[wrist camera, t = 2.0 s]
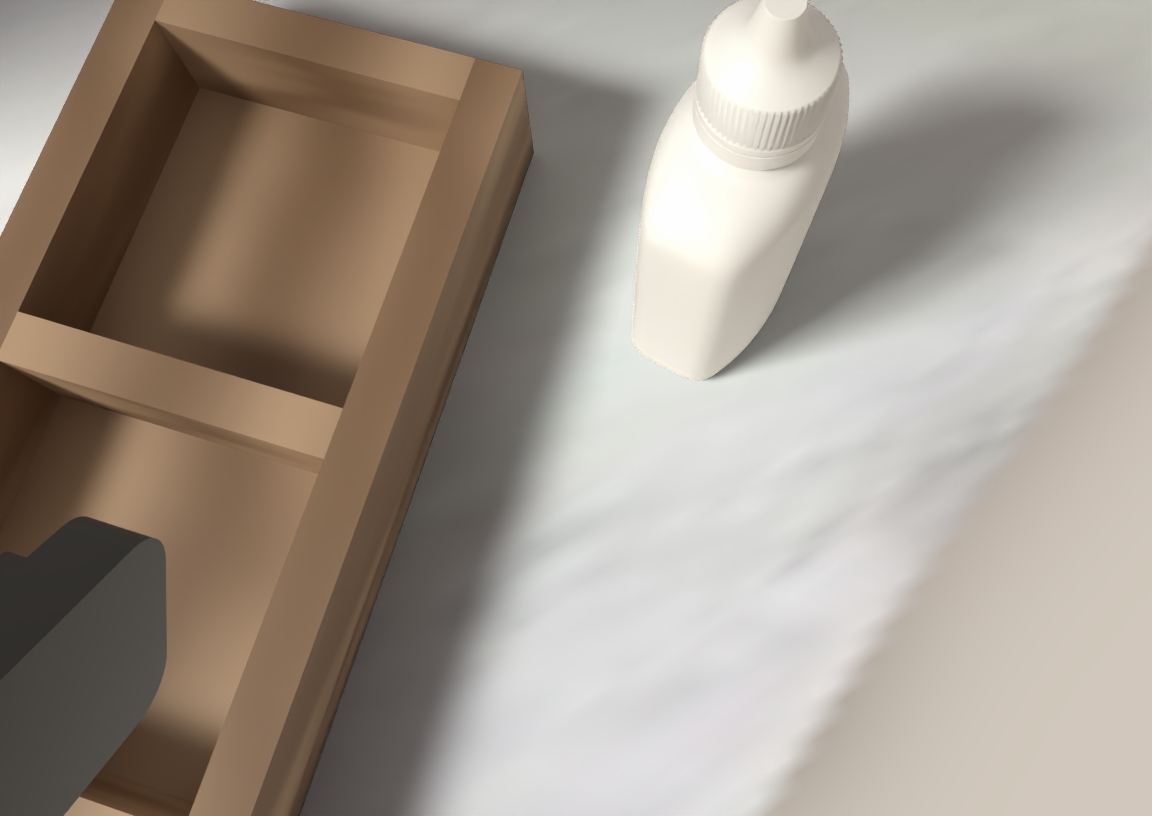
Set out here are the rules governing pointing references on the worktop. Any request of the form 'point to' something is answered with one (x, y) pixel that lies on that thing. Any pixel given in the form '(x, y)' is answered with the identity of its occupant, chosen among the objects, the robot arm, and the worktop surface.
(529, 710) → the worktop surface
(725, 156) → the eye dropper bottle
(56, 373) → the walnut rack
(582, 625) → the worktop surface
